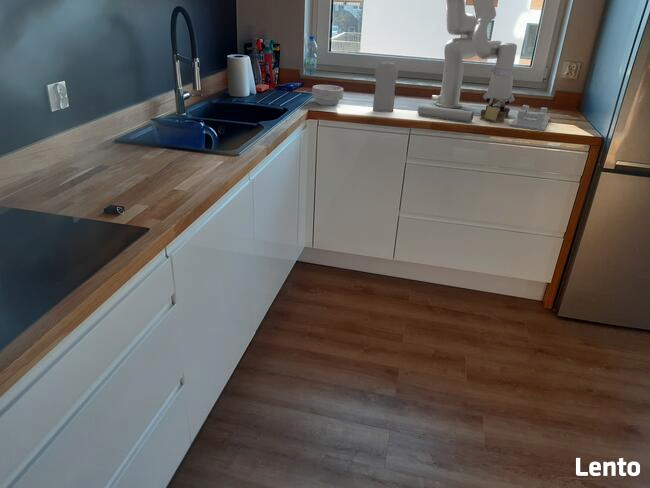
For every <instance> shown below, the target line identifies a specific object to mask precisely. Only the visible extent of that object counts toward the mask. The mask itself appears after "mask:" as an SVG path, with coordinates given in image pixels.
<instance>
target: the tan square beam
mask: <svg viewBox="0 0 650 488" xmlns="http://www.w3.org/2000/svg"><path fill="white" fill-rule="evenodd" d="M508 100H509V99H508ZM508 100H506V101H508ZM501 106H502V100H500V99H495V102H494V104H493V107H492V106H488V107H487V111H486V114H485V118H486V119H490V120H494V121H493V122H495V121H496V120H497V117H498V114H499V112H500V108H501ZM505 107H507V105H506V106H505Z"/></svg>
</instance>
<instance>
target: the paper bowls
mask: <svg viewBox="0 0 650 488" xmlns="http://www.w3.org/2000/svg"><path fill="white" fill-rule="evenodd" d="M311 90H312V91H311V97H312V98H313V99H315V101H316V103H317V104H318V105H322V106H336V105H337V104H338V103H339V101H341V100H343V98H344V87H341V86H340V85H339V86H338V85H332V84H316V85H312V88H311Z"/></svg>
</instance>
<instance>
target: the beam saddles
mask: <svg viewBox="0 0 650 488" xmlns="http://www.w3.org/2000/svg"><path fill="white" fill-rule="evenodd" d="M488 106H489V104H486V107H485V108H483V109H481V110H480V118H479V119H480V121H481V120H483V121H487V122H488V121H490V122H497V123H503V122H504V121H505V118H507V117H509V113H510V111H511V107H508V106H506V107H505V108H504V112H499V114H498V117H497V120H496V121H494V120H490V119H486V118H485V114H486V111H487V107H488Z"/></svg>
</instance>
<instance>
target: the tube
mask: <svg viewBox="0 0 650 488" xmlns="http://www.w3.org/2000/svg"><path fill="white" fill-rule="evenodd" d="M417 114H418V116H421V117H427V118H433V119H442V120H447V121H454V122H460V121H461V122H462V123H467V122H468V123H467V124H472V122H473V120H474V110H471V111H470V110H463V109H458V108H446V107H440V106H431V105H425V104H422V105H419V106H418V107H417Z"/></svg>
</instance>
